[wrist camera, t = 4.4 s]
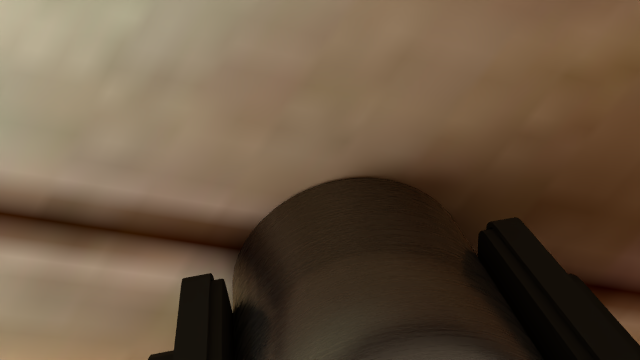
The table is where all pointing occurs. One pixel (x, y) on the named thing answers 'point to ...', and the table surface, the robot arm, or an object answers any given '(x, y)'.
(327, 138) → the table surface
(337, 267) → the silver grey short cylinder
